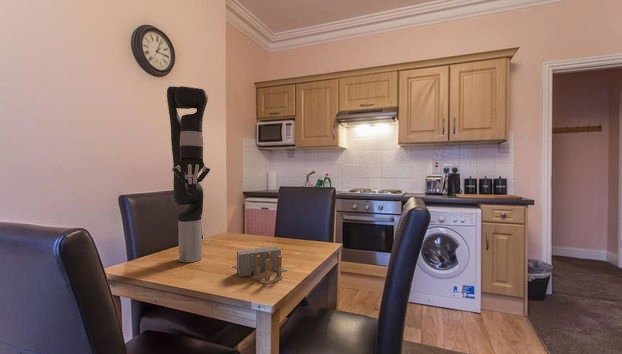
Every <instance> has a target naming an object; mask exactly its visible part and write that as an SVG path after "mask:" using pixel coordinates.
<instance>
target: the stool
mask: <svg viewBox="0 0 622 354" xmlns="http://www.w3.org/2000/svg"><path fill="white" fill-rule="evenodd" d="M282 259H283V256H282V255H281V256H280V255H279V256H277V272H276V273H275V272H272V253H271V252H268V253H267V259H266V260H265V272H263V273H260V262H261V256H259V255H257V256H256V266H255V275H254V279H253V280H255V281H258V282H260V283H262V284H264V285H269V284H272V283H274V282H278V281H279V280H283V275H282V272H281V268H283V267H282V262H283V260H282Z"/></svg>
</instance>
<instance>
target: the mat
mask: <svg viewBox="0 0 622 354" xmlns="http://www.w3.org/2000/svg"><path fill="white" fill-rule="evenodd" d="M232 268H233V269H236V270H237V264H236V265H232ZM287 271H288V270H287V269H285V268H283V267H281V273H284V272H287ZM276 272H277V271H276ZM276 272H275V273H276ZM248 277H249V278H251V279H253V280H255V279H254V275H249V276H248Z"/></svg>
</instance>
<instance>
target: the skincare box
mask: <svg viewBox="0 0 622 354" xmlns="http://www.w3.org/2000/svg"><path fill="white" fill-rule="evenodd" d="M268 252H271V253H272V272H276V271H277V256H279V255H280V256H282V250H281V248H279V247H278V246H269V247H268V246H267V247H259V248H251V249H250V248H249V249H239V250H236V265H237V269H236V273H237V275H238V277H240V278H241V277H249V275H255V266H256V256H257V255H259V256H261V262H260V273H263V272H265V260H266V259H267V253H268Z"/></svg>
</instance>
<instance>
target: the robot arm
mask: <svg viewBox="0 0 622 354" xmlns="http://www.w3.org/2000/svg"><path fill="white" fill-rule="evenodd" d="M166 101H167V102H166V103H167V108H168V115H169V122H170V123H169V124H170V141H171V142H170V143H171V152H172V153H171V154H172V163H173V164H172V165H173V167H172V169H171V171H172V173H173V198H174V201H175V203H176V205H178V206H183V205H185V206H186V205H189V206H188V207H187V209H186V210H184V211H182V212H180V213H179V214H178V215H177V216H178V217H177V219H178V221H177V222H178V223H177V224H178V262H181V263H193V262H198V261H201V260H202V258H203V257H202V256H203V255H202V254H203V251H202V250H203V248H202V247H203V245H202V244H203V241H202V240H203V238H202V237H203V236H202V230H203V229H202V215H203V211H204V209H203V208H204V189H203V186H202V185H201V182H202V181H204V179H205V178H206V177H207V176H208V174H209V173H210V171H211V168H209V167H207V166H206V165H205V162H204V136H203V121H204V120H203V119H204V115H205V111H206V108H207V104H208V101H209V96H208V93H207V91H206V90H205V89H204V88H199V87H198V88H197V87H190V86H183V85H182V86H168V87H167V90H166ZM179 109H180V110H181V109H183V110H185V109H186V110H188V109H196V111H195V112H193V113H188V114H184V115H181V116H180V115H179V113H178V110H179ZM200 172H201V173H200ZM199 173H200V174H199Z"/></svg>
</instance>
